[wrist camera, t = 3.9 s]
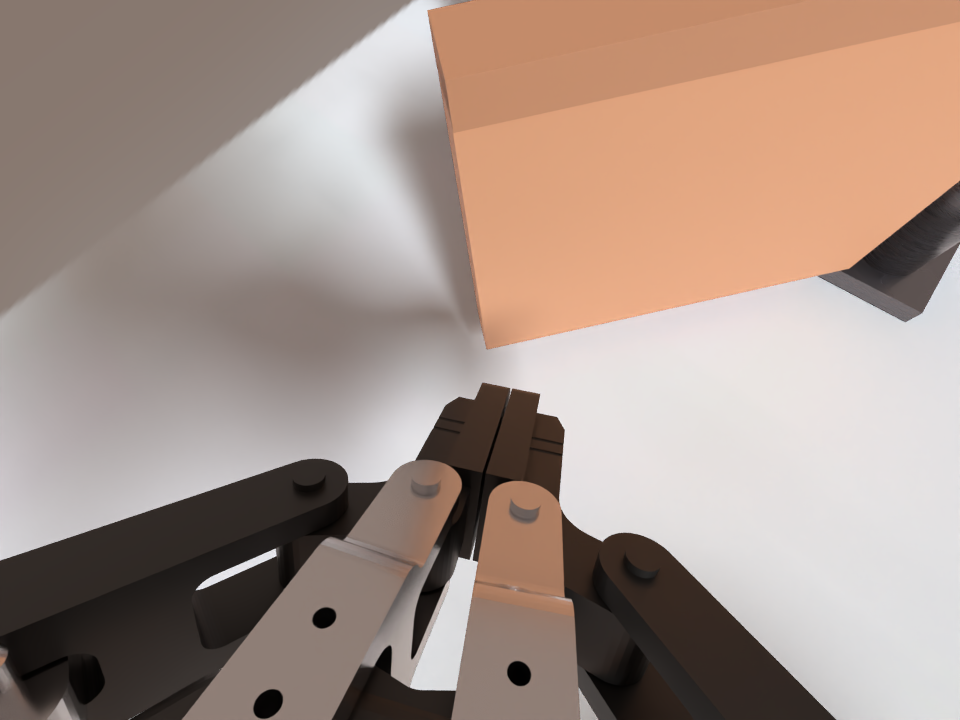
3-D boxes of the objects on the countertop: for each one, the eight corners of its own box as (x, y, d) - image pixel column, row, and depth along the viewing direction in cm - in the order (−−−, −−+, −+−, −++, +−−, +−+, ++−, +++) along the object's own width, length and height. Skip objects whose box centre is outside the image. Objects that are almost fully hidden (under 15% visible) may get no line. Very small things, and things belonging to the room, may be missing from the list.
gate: (830, 236, 18) (1261, -172, 8) (850, 270, 18) (1344, -117, 7) (478, 314, 18) (427, 9, 8) (487, 351, 18) (445, 80, 7)
